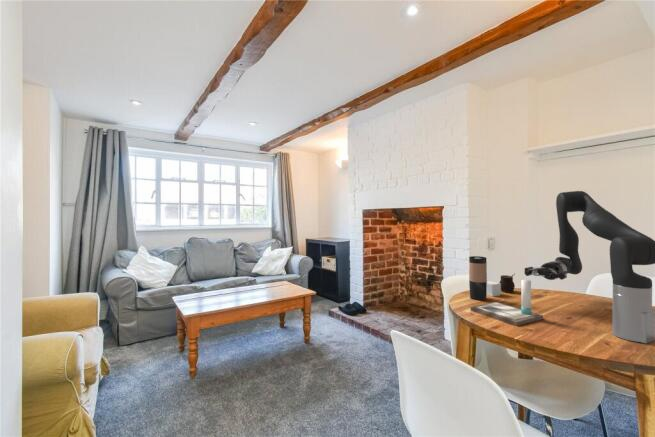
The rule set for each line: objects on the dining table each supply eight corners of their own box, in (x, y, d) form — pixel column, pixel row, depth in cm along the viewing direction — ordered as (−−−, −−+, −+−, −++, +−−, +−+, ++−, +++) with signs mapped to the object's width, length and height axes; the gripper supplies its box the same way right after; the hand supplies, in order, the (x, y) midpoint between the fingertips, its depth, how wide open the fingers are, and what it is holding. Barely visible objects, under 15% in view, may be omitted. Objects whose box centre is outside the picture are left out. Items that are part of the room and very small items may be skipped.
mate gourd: (499, 289, 164) (499, 270, 164) (516, 290, 160) (516, 272, 160) (497, 291, 158) (497, 272, 158) (514, 294, 154) (514, 274, 154)
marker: (533, 313, 119) (533, 281, 119) (527, 315, 118) (527, 282, 118) (524, 311, 122) (524, 279, 122) (519, 312, 121) (519, 280, 121)
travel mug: (488, 298, 147) (488, 257, 147) (484, 301, 142) (483, 259, 141) (472, 295, 153) (472, 255, 152) (467, 298, 147) (466, 257, 147)
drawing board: (543, 319, 118) (543, 314, 118) (516, 326, 112) (516, 321, 112) (496, 305, 136) (496, 301, 136) (470, 310, 130) (470, 306, 130)
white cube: (500, 295, 152) (500, 283, 152) (492, 296, 150) (492, 284, 150) (490, 292, 158) (490, 280, 158) (481, 293, 156) (481, 282, 156)
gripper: (535, 259, 141) (519, 263, 132) (573, 264, 130) (558, 268, 120) (535, 275, 142) (519, 280, 132) (573, 281, 130) (558, 287, 121)
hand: (537, 275), depth 126 cm, fingers open, 8 cm apart
